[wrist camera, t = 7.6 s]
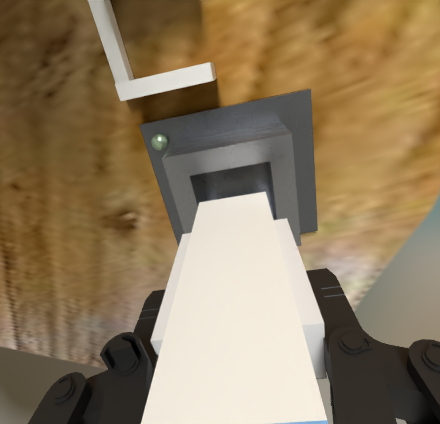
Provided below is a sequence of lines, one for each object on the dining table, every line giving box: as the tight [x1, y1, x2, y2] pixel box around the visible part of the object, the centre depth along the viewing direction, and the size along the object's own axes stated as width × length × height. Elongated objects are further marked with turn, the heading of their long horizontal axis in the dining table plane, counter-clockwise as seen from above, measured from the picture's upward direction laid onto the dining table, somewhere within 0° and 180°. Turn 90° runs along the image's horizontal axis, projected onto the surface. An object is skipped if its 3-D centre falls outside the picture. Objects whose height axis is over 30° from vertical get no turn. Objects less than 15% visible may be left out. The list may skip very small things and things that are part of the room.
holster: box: [88, 0, 217, 101], centre depth 17 cm, size 7×7×4 cm
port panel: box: [140, 89, 318, 246], centre depth 22 cm, size 12×13×5 cm
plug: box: [141, 192, 328, 424], centre depth 11 cm, size 4×4×14 cm
